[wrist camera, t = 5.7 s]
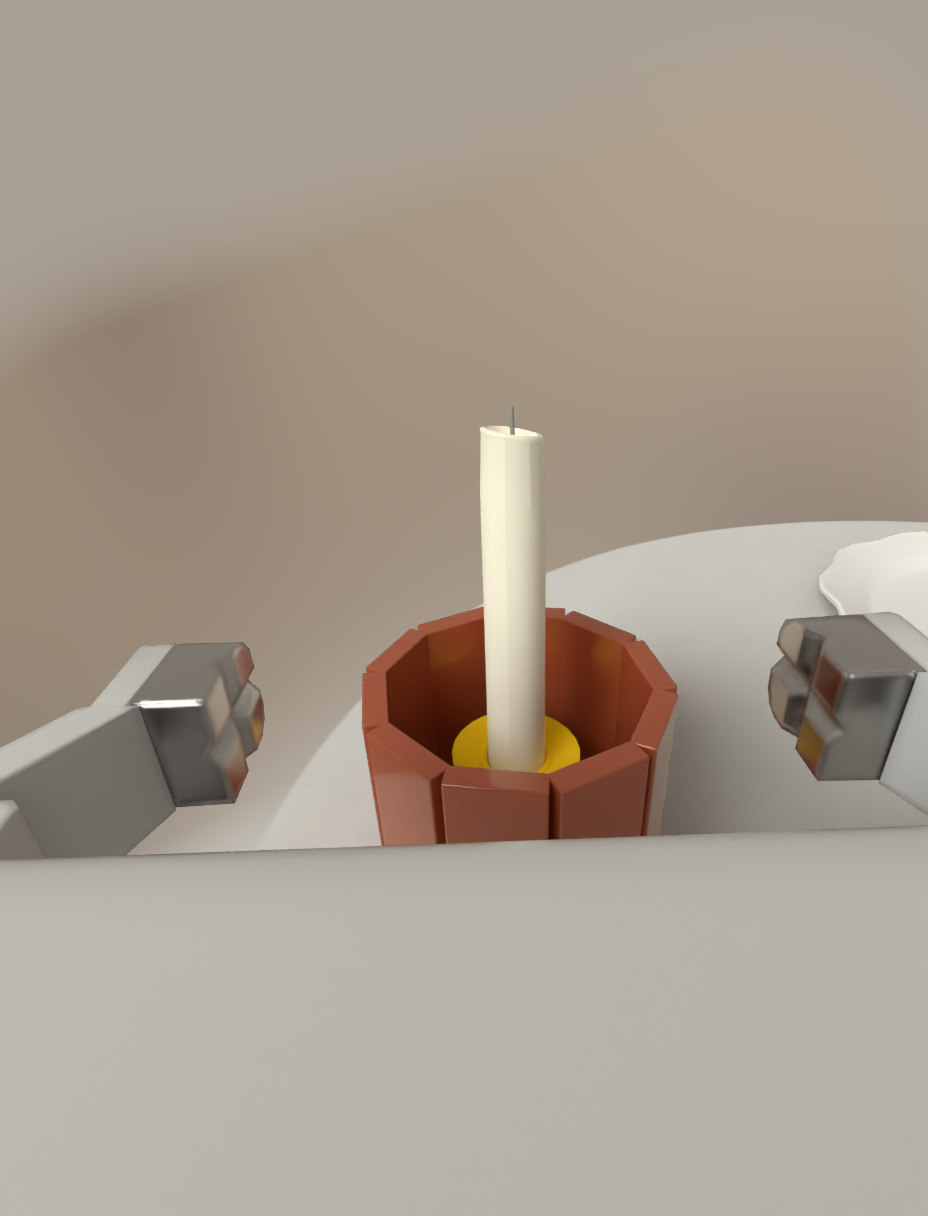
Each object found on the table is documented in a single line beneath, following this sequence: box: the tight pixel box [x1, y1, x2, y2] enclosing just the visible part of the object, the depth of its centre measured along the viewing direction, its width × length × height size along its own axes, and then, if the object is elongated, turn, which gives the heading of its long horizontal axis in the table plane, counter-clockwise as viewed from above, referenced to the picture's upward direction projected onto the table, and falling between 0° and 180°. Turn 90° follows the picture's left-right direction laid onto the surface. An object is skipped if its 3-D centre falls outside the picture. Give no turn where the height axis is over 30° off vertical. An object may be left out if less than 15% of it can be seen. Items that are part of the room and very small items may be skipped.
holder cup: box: [362, 607, 679, 846], centre depth 20 cm, size 9×9×8 cm
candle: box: [452, 404, 580, 774], centre depth 18 cm, size 5×5×16 cm
